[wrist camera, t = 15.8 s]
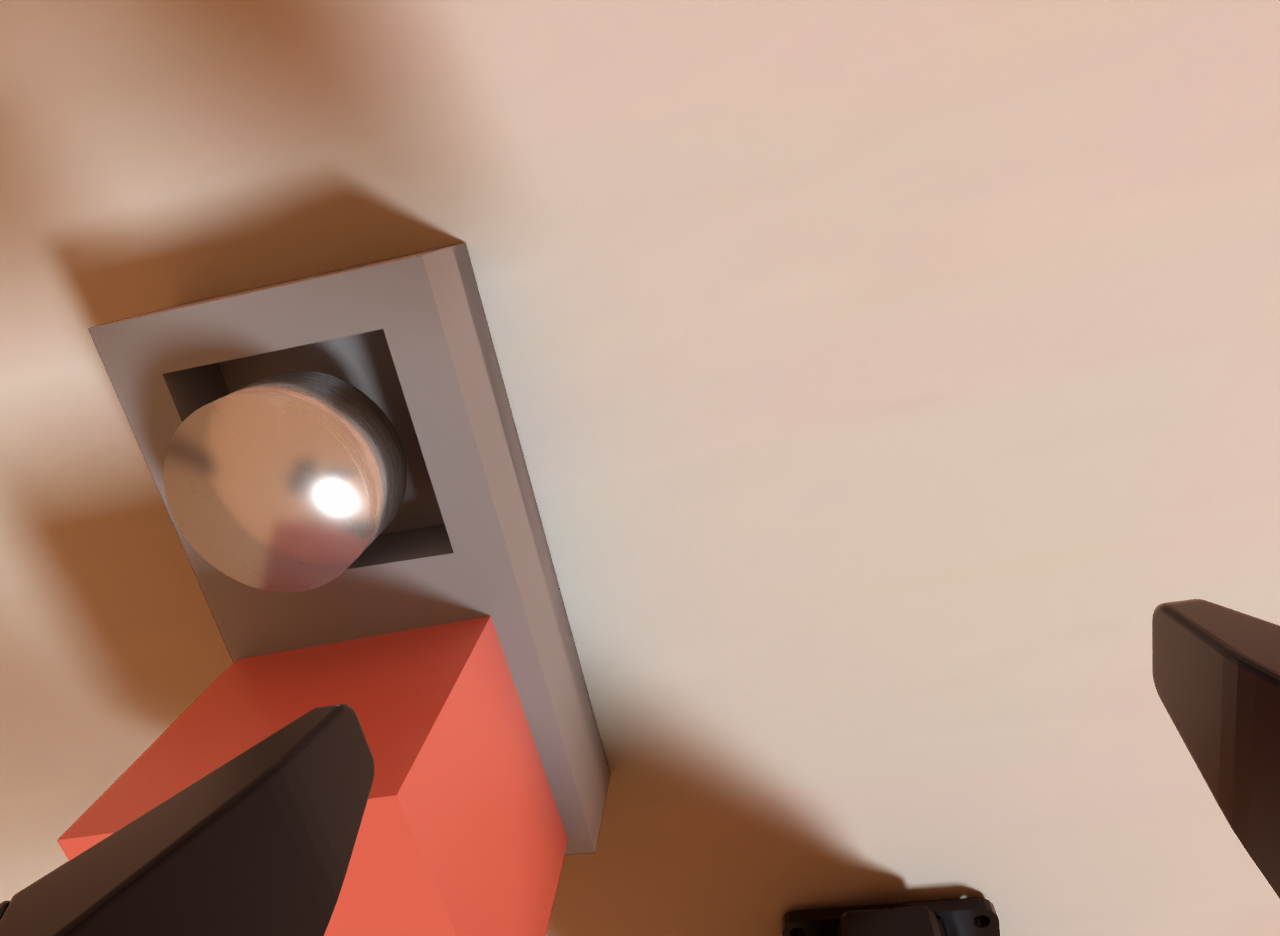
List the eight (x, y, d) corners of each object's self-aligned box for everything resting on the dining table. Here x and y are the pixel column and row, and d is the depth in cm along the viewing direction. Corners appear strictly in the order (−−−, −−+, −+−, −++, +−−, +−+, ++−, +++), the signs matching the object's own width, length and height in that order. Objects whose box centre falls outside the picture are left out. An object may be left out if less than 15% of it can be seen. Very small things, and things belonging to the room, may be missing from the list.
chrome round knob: (430, 533, 19) (395, 577, 17) (264, 559, 20) (211, 605, 18) (372, 353, 18) (326, 377, 16) (195, 389, 19) (129, 416, 16)
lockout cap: (568, 839, 22) (513, 1071, 16) (334, 866, 23) (208, 1091, 17) (490, 615, 20) (396, 795, 14) (236, 659, 21) (56, 840, 15)
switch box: (610, 774, 25) (595, 852, 22) (360, 800, 26) (316, 876, 23) (465, 242, 20) (421, 255, 17) (163, 309, 21) (76, 331, 18)
